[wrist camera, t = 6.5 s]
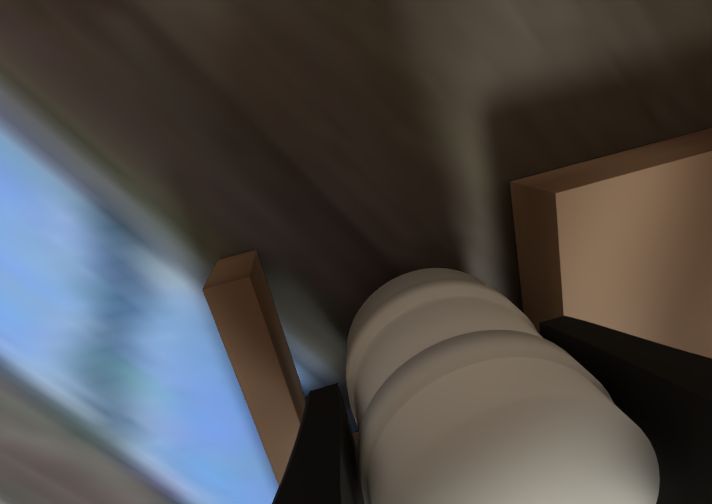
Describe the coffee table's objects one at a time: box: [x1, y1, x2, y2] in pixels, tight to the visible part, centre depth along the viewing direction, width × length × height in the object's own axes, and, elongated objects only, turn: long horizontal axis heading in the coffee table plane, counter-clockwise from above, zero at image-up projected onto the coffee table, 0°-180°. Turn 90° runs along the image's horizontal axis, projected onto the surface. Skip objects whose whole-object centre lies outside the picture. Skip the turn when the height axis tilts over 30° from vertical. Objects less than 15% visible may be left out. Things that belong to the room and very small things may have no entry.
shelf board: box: [203, 128, 712, 485], centre depth 12 cm, size 16×14×2 cm
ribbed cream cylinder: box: [346, 268, 660, 504], centre depth 8 cm, size 5×5×5 cm
